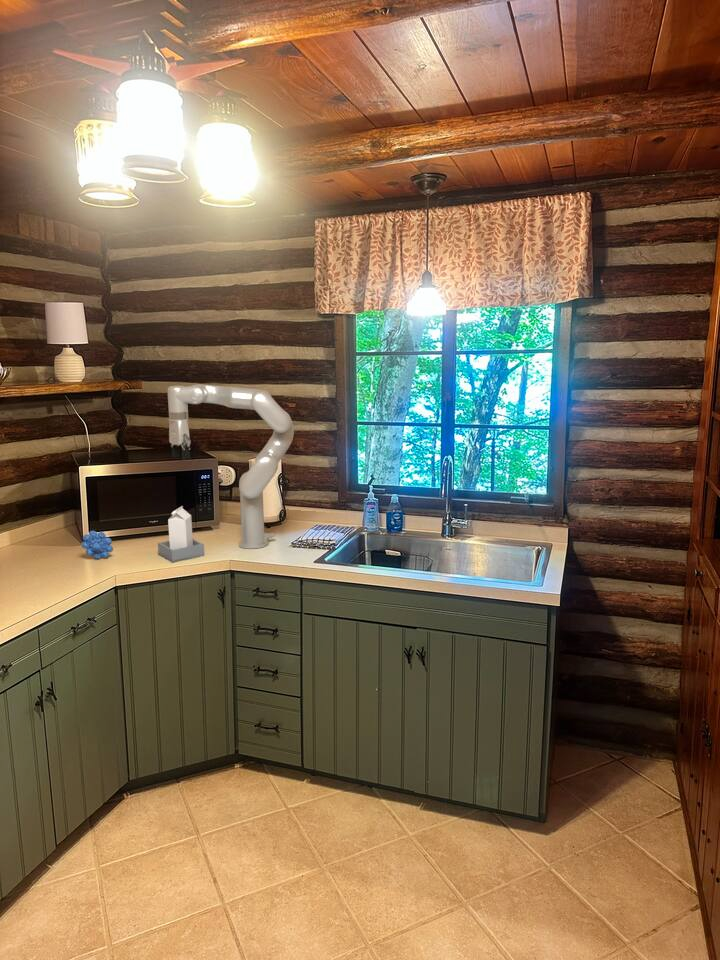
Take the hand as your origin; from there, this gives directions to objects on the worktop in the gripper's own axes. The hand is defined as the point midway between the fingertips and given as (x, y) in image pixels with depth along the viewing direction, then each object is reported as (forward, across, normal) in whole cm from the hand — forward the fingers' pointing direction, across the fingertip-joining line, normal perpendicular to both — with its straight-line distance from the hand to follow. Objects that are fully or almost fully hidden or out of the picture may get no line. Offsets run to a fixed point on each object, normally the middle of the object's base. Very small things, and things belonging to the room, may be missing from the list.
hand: (181, 458), depth 283 cm
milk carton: (+38, +8, -6) cm, 39 cm away
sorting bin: (+38, +8, -6) cm, 40 cm away
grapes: (+38, -8, -34) cm, 52 cm away
